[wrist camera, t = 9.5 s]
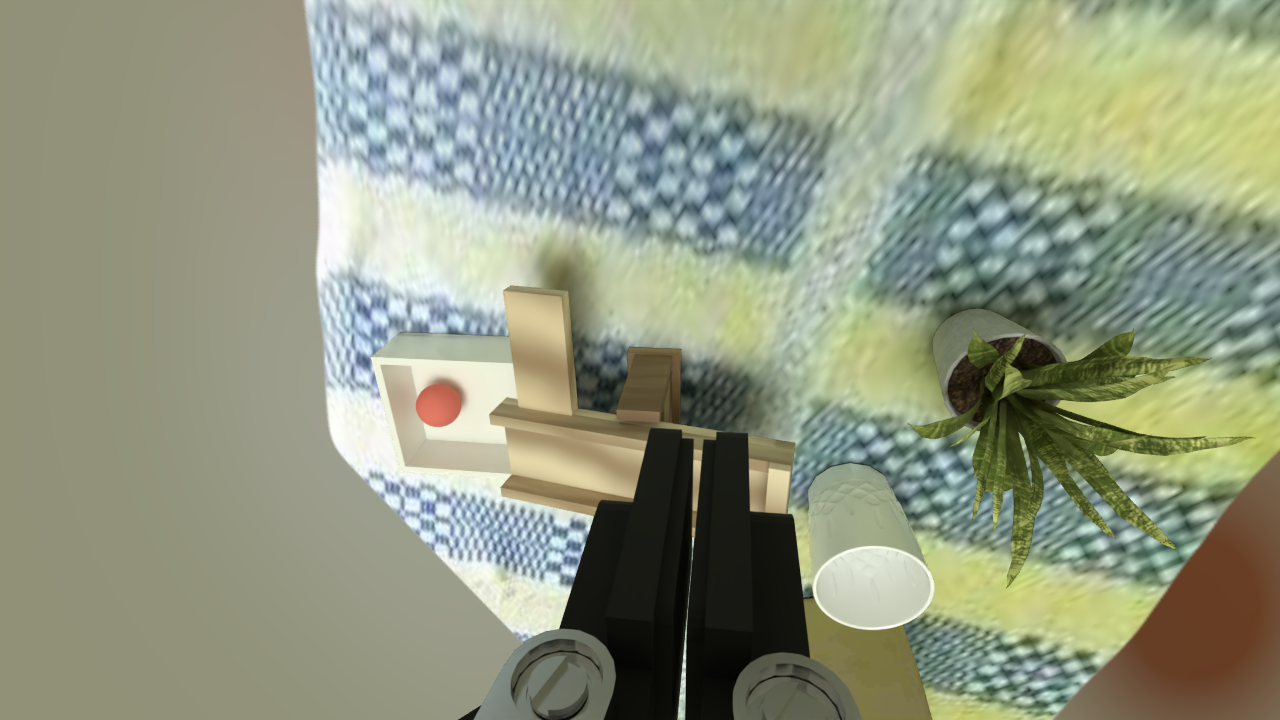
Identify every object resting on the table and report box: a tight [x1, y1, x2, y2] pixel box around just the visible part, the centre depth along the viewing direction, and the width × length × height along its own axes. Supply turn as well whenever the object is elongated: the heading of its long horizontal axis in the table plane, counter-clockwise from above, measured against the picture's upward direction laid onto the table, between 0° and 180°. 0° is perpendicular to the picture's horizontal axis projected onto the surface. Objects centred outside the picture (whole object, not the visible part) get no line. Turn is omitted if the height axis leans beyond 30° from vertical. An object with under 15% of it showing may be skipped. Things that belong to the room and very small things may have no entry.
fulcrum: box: [616, 347, 681, 425], centre depth 45 cm, size 10×4×9 cm, turn 1°
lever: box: [489, 286, 795, 537], centre depth 39 cm, size 16×20×4 cm
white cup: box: [808, 463, 934, 630], centre depth 46 cm, size 8×8×10 cm
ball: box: [416, 384, 461, 427], centre depth 49 cm, size 4×4×4 cm
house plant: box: [909, 309, 1254, 588], centre depth 36 cm, size 14×14×16 cm
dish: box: [371, 332, 517, 480], centre depth 49 cm, size 11×12×4 cm
